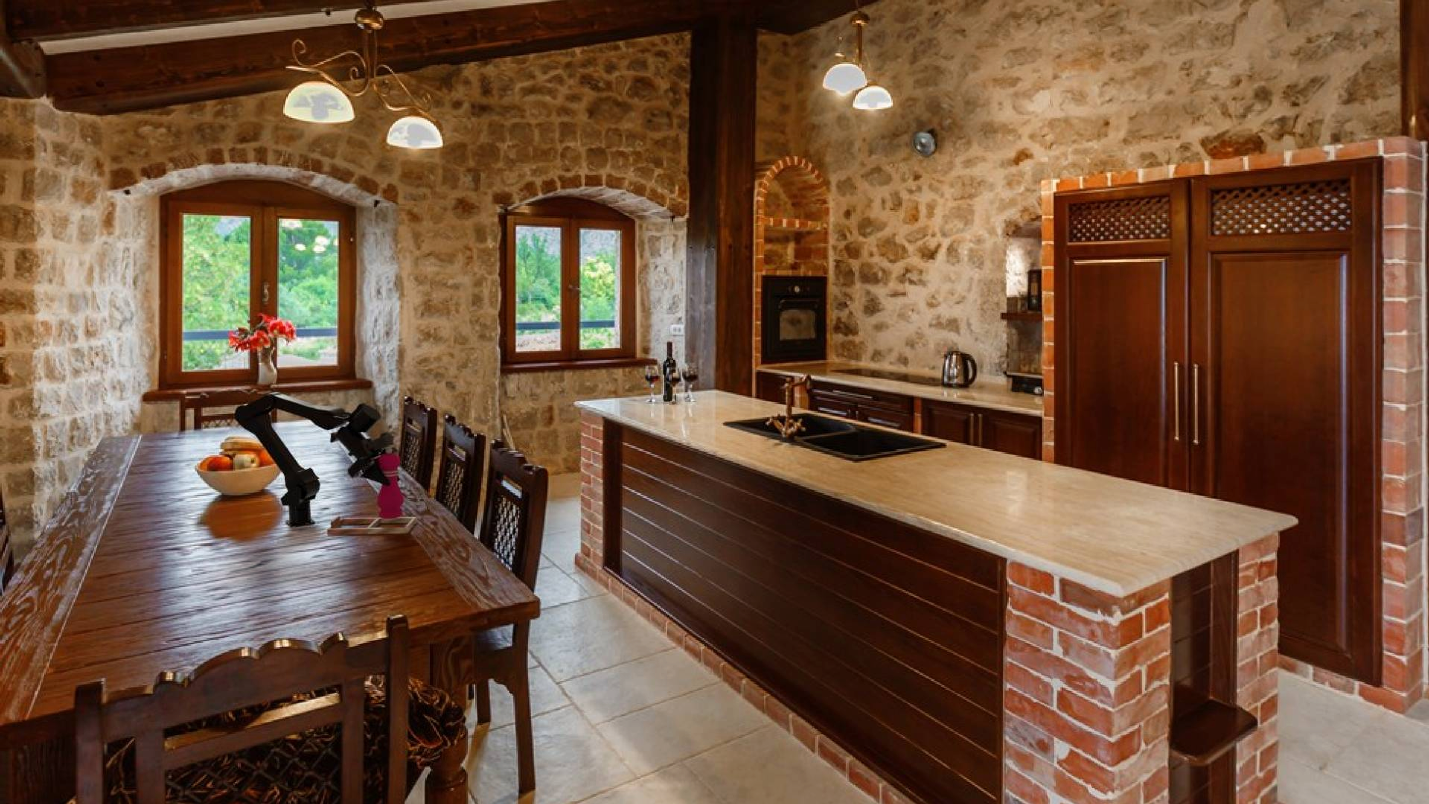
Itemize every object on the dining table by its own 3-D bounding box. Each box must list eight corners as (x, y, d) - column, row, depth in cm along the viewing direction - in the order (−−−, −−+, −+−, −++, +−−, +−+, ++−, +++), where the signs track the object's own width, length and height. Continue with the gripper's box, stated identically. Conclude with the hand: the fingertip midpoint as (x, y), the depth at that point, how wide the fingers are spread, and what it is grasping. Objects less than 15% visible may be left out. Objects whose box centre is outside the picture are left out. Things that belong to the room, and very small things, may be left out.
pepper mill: (394, 520, 230) (392, 450, 227) (371, 518, 231) (369, 449, 228) (409, 513, 237) (407, 446, 234) (386, 511, 238) (384, 444, 236)
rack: (327, 534, 227) (326, 524, 227) (341, 523, 238) (340, 513, 238) (406, 533, 230) (406, 522, 229) (416, 522, 241) (416, 512, 240)
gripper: (356, 430, 222) (396, 472, 222) (391, 419, 240) (427, 457, 240) (330, 457, 224) (369, 498, 224) (366, 444, 242) (403, 482, 242)
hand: (394, 483), depth 233 cm, fingers closed on pepper mill, 5 cm apart
